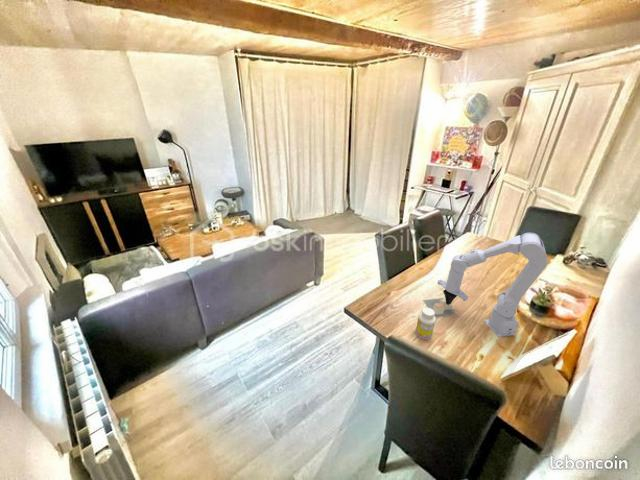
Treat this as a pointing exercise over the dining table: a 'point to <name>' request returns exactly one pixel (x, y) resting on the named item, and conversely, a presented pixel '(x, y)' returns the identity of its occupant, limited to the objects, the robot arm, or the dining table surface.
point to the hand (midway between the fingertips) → (448, 303)
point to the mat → (431, 303)
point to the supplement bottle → (426, 323)
